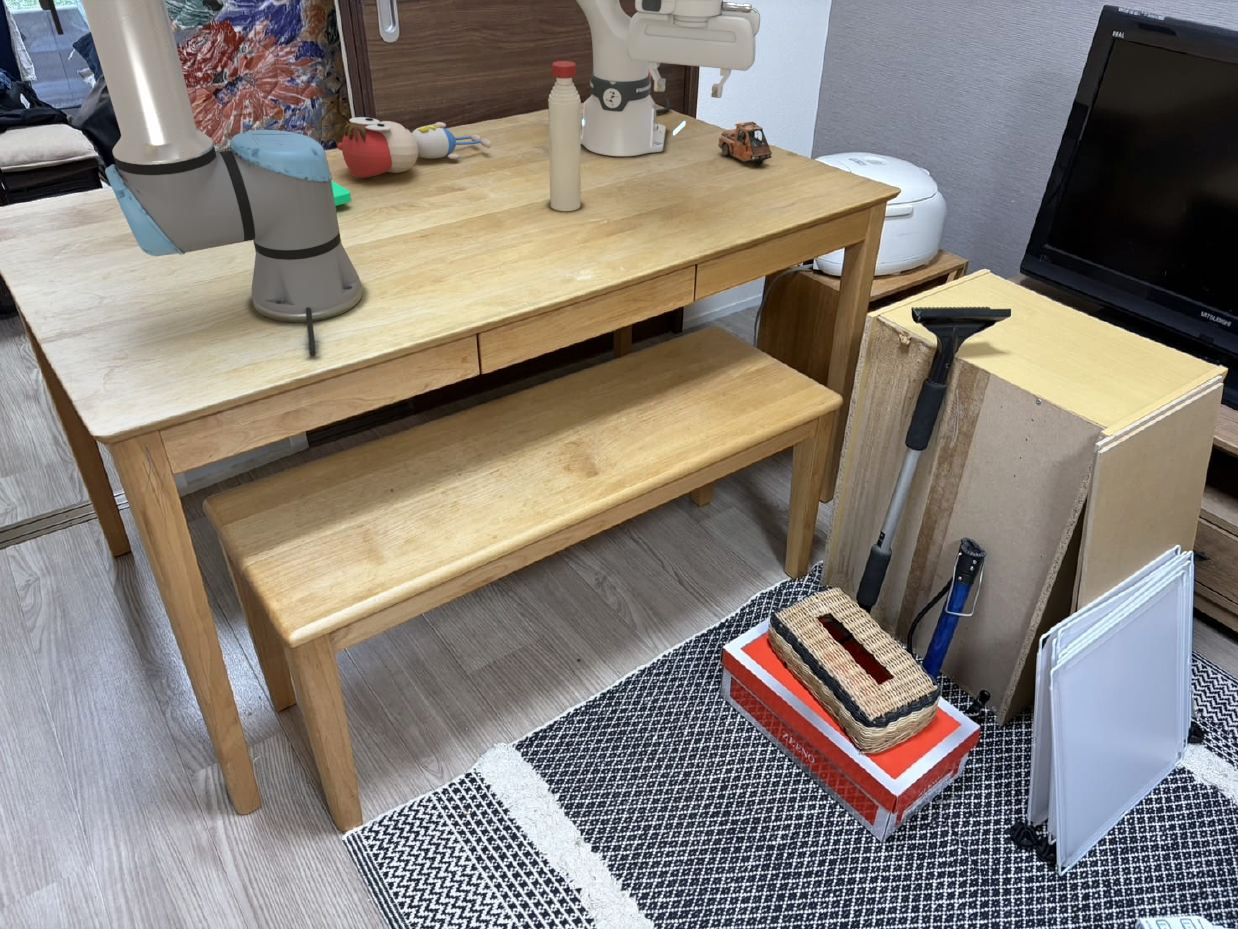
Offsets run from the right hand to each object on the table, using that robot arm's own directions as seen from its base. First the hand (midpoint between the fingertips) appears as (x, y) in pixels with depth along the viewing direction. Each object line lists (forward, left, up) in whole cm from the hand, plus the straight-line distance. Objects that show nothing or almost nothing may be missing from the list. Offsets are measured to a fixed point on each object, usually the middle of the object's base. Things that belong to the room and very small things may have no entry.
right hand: (687, 93), depth 149 cm
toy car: (-36, +5, -21) cm, 42 cm away
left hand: (+22, -89, +7) cm, 92 cm away
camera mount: (+14, -63, -21) cm, 67 cm away
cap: (0, -21, +2) cm, 21 cm away
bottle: (0, -21, -21) cm, 30 cm away
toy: (-10, -55, -21) cm, 60 cm away
